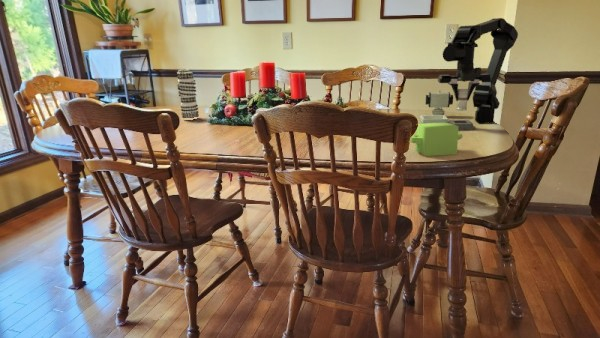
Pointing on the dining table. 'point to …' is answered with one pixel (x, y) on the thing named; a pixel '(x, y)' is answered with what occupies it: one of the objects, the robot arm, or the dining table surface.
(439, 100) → the pneumatic valve
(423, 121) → the parts tray
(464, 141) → the dining table surface
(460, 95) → the white light bulb
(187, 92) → the decorative candle
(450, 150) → the gearbox
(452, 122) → the grey square frame
